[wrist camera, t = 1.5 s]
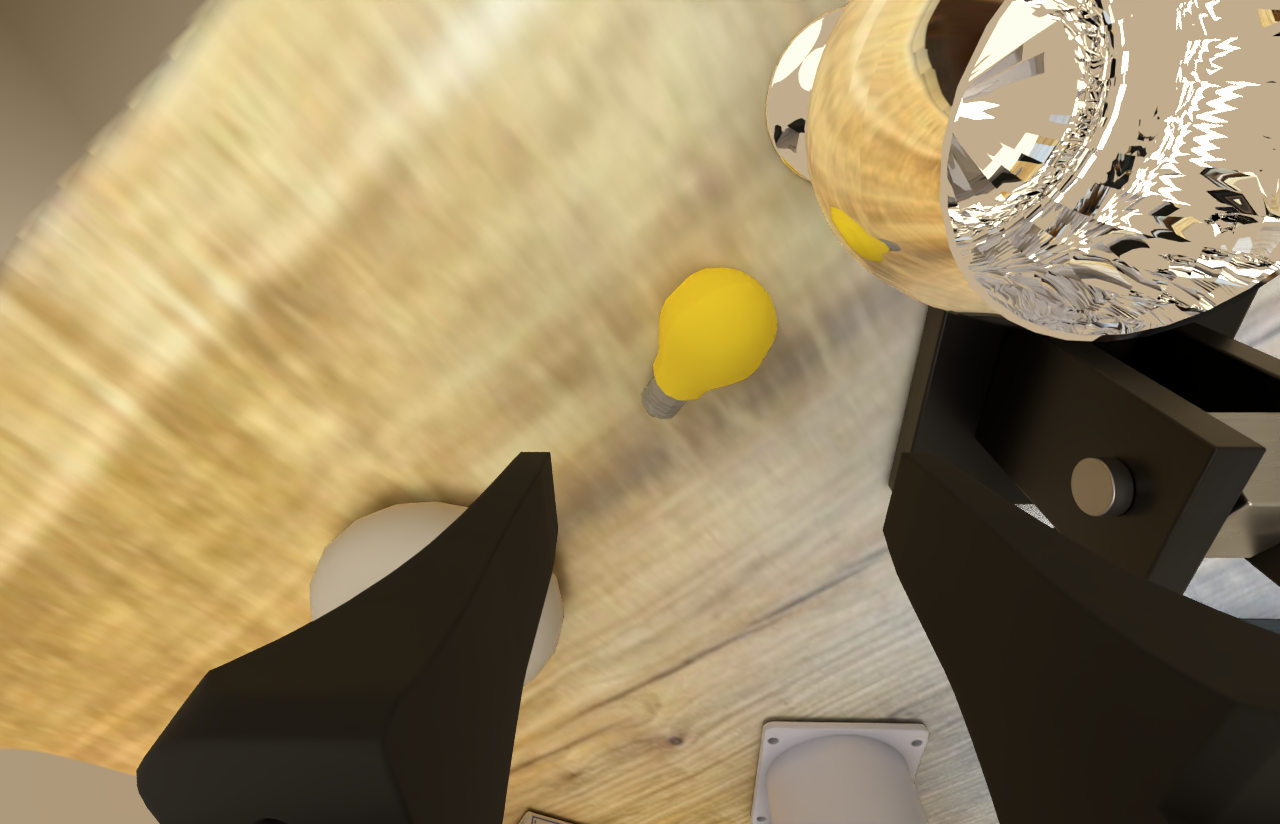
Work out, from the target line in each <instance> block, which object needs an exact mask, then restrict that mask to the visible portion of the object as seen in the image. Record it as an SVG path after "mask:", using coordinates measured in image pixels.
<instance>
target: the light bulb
mask: <svg viewBox="0 0 1280 824" xmlns="http://www.w3.org/2000/svg"><path fill="white" fill-rule="evenodd" d="M777 326H778V323H777V318H776V313H775V309H774V306H773V303H772V301H771V298H770V296H769V294H768V293H767V292H766V290H765V289H764V288H763V287H762V286H761V285H760V284H759V283H758V282H757V281H756V280H755V279H754V278H752V277H750V276H749V275H747V274H745V273H743V272H741V271H739V270H737V269H731V268H723V267H716V268H704V269H702V270H700V271H698V272H696V273H694V274H692V275H690V276H689V277H688V278H687V279H686V280H685V281H684V282H683V283H682V284H681V285H680V286H678V287H677V288H676V290H675V291H674V292H673V293H672V294H671V295H670V296H669V297H668V298H667V299H666V301H665V303H664V305H663V308H662V310H661V313H660V318H659V352H658V355H657V357H656V359H655V362H654V364H653V370H654V377H653V379H652V380H651V381H650V382H649V384H648V385H647V387H646V388H645V389H644V391H643V392H642V394H641V397H642V403H643V405H644V407H645V408H646V410H647V412H648V413H649V415H651V416H653V417H658V418H660V419H670V418H673V417H674V415H675V414H676V413H677V412H678V411H679V409H680V408H681V407H682V406H683V404H684V403H685V402H686V400H697V399H698V398H699V397H700V396H702V395H703V394H704V393H706V392H707V391H708V390H712V389H715V388H719V387H723V386H727V385H730V384H733V383H736V382H739V381H741V380H744V379H746V378H747V377H748V376H749V375H751V374H752V373H753V372H755V371H756V370H757V369H758V367H759V365H760V364H761V362H762V361H763V359H764V357H765V356H766V354H767V352H768V351H769V349H770V347H771V346H772V344H773V342H774V341H775V337H776V332H777Z"/></svg>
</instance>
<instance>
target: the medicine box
mask: <svg viewBox="0 0 1280 824" xmlns="http://www.w3.org/2000/svg"><path fill="white" fill-rule="evenodd" d="M519 824H572V823H568V822H565V821H561V820H558V819H554V818H550V817H547V816H543V815H540V814H536V813H533V812H530V811H528V812H527V813H526V814H525V815H524V817H523V818H522V819H521V821H520V822H519Z"/></svg>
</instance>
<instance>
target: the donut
mask: <svg viewBox="0 0 1280 824" xmlns="http://www.w3.org/2000/svg"><path fill="white" fill-rule="evenodd" d="M467 508H468V507H464V506H458V505H453V504H447V503H442V502H437V501H431V502H416V503H402V504H396V505H393V506H390V507H388V508H385V509H382V510H380V511H377V512H374V513H372V514H369V515H366V516H364V517H361V518H358V519H356V520H355V521H354V522H353V523H352V524H351V525H350V526H349V527H347V528H346V529H345V530H344V531H343V532H342V533H341V534H339V535H338V536H337V537H336V538H335V539H334V540H333V541H332V542H331V543H330V544H328V545H327V546H326V547H325V549H324V552H323V554H322V556H321V558H320V561H319V563H318V565H317V568H316V570H315V573H314V575H313V577H312V580H311V582H310V604H311V618H312V621H314V620H316V619H318V618H319V617H321V616H323V615H325V614H326V613H328V612H330V611H332V610H333V609H335V608H337V607H339V606H340V605H342V604H344V603H345V602H347V601H349V600H350V599H352V598H353V597H355V596H356V595H358V594H359V593H361V592H362V591H364V590H366V589H367V588H369V587H370V586H372V585H373V584H375V583H376V582H378V581H379V580H381V579H382V578H384V577H386V576H387V575H389V574H390V573H391V572H393V571H394V570H396V569H397V568H398V567H400V566H401V565H402V564H404V563H405V562H406V561H408V560H409V559H410V558H412V557H413V556H414V555H416V554H417V553H418V552H419V551H421V550H422V549H423V548H424V547H426V546H427V545H428V544H429V543H431V542H432V541H433V540H434V539H435V538H436V537H437V536H438V535H440V534H441V533H442V532H443V531H444V530H445V529H446V528H447V527H448V526H449V525H451V524H452V523H453V522H454V521H455V520H456V519H457V518H458V517H459V516H460V515H461V514H462V513H463V512H464V511H465V510H466V509H467ZM563 617H564V612H563V603H562V599H561V594H560V590H559V585H558V581H557V578H556V576H555V574H554V572H552V576H551V580H550V584H549V587H548V591H547V595H546V599H545V603H544V607H543V610H542V614H541V618H540V622H539V625H538V629H537V633H536V637H535V640H534V644H533V648H532V652H531V655H530V659H529V663H528V667H527V671H526V676H525V680H524V685H526V684H527V683H529V682H531V681H532V680H533V679H534V678H535V677H536V676H537V674H538V673H539V672H540V671H541V669H542V668H543V667H544V665H545V664H546V663H547V661H548V660H549V659H550V657H551V656H552V655H553V653H554V652H555V649H556V647H557V644H558V640H559V636H560V631H561V627H562V622H563ZM524 685H523V686H524Z"/></svg>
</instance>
